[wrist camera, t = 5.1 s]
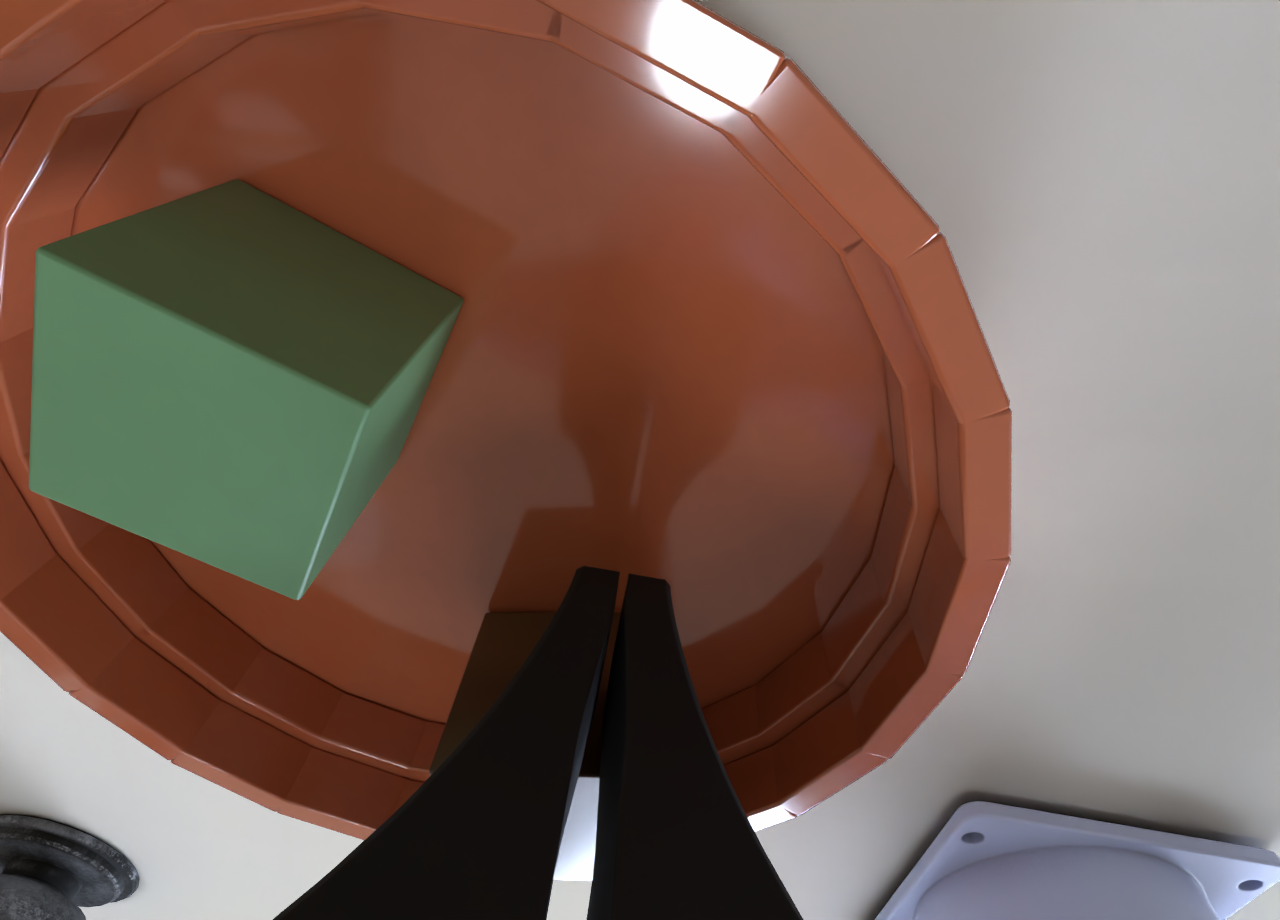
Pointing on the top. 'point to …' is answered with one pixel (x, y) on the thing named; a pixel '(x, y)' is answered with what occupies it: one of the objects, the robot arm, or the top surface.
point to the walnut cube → (482, 683)
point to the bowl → (527, 383)
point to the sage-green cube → (228, 378)
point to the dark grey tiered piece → (57, 871)
